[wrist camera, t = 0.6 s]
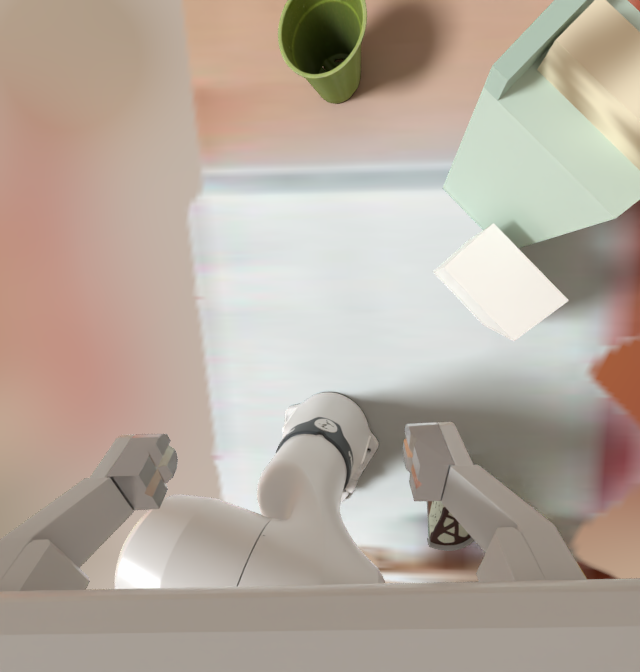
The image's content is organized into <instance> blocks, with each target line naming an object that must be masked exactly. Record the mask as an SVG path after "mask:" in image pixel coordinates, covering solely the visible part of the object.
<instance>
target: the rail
mask: <svg viewBox="0 0 640 672" xmlns="http://www.w3.org/2000/svg"><path fill="white" fill-rule="evenodd" d="M537 70H538V71H539V72H540V73H541V74H542V75H543V76H544V77H545V78H546V79H547V80H548V81H549V82H550V83H551V84H552V85H553V86H554V87H555V88H556V89H557V90H558V91H559V92H560V93H561V94H562V95H563V96H564V97H565V98H566V99H567V100H568V101H569V102H570V103H571V104H572V105H573V106H574V107H575V108H576V109H577V110H578V111H580V112H581V113H582V114H583V115H584V116H585V117H586V118H587V119H588V120H589V121H590V122H591V123H592V124H593V125H594V126H595V127H596V128H597V129H598V130H599V131H600V132H601V133H602V134H603V135H604V136H605V137H606V138H607V139H608V140H609V141H610V142H611V143H612V144H613V145H614V146H615V147H616V148H617V149H618V150H619V151H620V152H621V153H622V154H623V155H624V156H625V157H627V158H628V159H629V160H630V161H631V162H632V163H633V164H634V165H635V166H636V167H637V168H638V169H639V170H640V32H639V31H638V30H637V29H636V28H635V27H634V26H633V25H632V24H631V23H630V22H629V21H627V20H626V19H625V18H624V17H623V16H622V15H621V14H620V13H619V12H618V11H617V10H616V9H615V8H614V7H613V6H612V5H611V4H610V3H608V2H607V1H606V0H594V1H593V2H592V4H591V5H590V6H589V7H588V8H587V9H586V10H585V11H584V12H583V13H582V14H581V15H580V16H579V17H578V18H577V19H576V20H575V21H574V22H573V23H572V24H571V25H570V26H569V27H568V28H567V29H566V30H565V31H564V32H563V33H562V34H561V35H560V36H559V37H558V38H557V39H556V40H555V42H554V43H553V45H552V47H551V48H550V50H549V51H548V53H547V55H546V56H545V58H544V59H543V61H542V63H541V64H540V66H539V67H538V69H537Z"/></svg>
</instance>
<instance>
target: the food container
mask: <svg viewBox="0 0 640 672" xmlns="http://www.w3.org/2000/svg"><path fill="white" fill-rule="evenodd" d="M427 514H428V536H429V539H428V538H427V541H428V545H429V547H432V548H434V549H438V550H445V551H452V550H458V549H462V548H464V547H466V546H468V545H470V544H471V543H472V542H474V539H473V538H472V537H471V536H470V535H469V534H468V532H467V531H466V530H465V529H464V528H463V527H462V526H461V524H460V523H459V522H458V521H457V520H456V519H455V518H454V516H453V515H452V514H451V513H450V512H449V511H448V510H447V509H446V507H445V506H444V505H443V504H442V503H441V501H427Z"/></svg>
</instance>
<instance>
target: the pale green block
mask: <svg viewBox="0 0 640 672" xmlns="http://www.w3.org/2000/svg"><path fill="white" fill-rule="evenodd" d="M593 1H594V0H554V1H553V2H552V3H551V4H550V5H549V6H548V8H547V9H546V10H545V11H544V12H543V13H542V14H541V15H540V16H539V17H538V18H537V19H536V20H535V21H534V22H533V23H532V24H531V25H530V27H529V28H528V29H527V30H526V31H525V32H524V33H523V34H522V35H521V36H520V37H519V38H518V39H517V40H516V41H515V42H514V43H513V44H512V46H511V47H510V48H509V49H508V50H507V51H506V52H505V53H504V54H503V55H502V56H501V57H500V58H499V59H498V60H497V61H496V62H495V63H494V65H493V66H492V68H491V70H490V73H489V75H488V78H487V80H486V83H485V85H484V88H483V90H482V92H481V95H480V97H479V100H478V102H477V105H476V107H475V110H474V112H473V115H472V117H471V119H470V122H469V124H468V127H467V129H466V132H465V134H464V137H463V139H462V142H461V144H460V146H459V149H458V151H457V154H456V156H455V159H454V161H453V164H452V166H451V169H450V171H449V173H448V176H447V178H446V181H445V183H444V186H443V189H444V190H445V191H446V193H447V194H448V195H449V196H450V197H451V198H452V199H453V200H454V201H455V202H456V203H457V204H458V205H459V206H460V207H461V208H462V209H463V210H464V211H465V212H466V213H467V214H468V215H469V216H470V217H471V218H472V219H473V220H474V221H475V222H476V223H477V224H478V226H479V227H480V228H481V229H482V230H484V229H486V228H487V227H489V226H490V225H492V224H493V223H494V224H495V225H496V226H497V227H498V228H499V229H500V230H501V231H502V232H503V233H504V234H505V235H506V236H507V237H508V238H509V239H510V240H511V242H512V243H513V244H514V245H515V246H516V247H517V248H521V247H524V246H528V245H531V244H534V243H537V242H541V241H544V240H547V239H550V238H554V237H557V236H560V235H563V234H567V233H570V232H573V231H576V230H580V229H583V228H586V227H590V226H593V225H596V224H599V223H603V222H606V221H609V220H612V219H616V218H617V217H618V216H619V215H621V214H622V213H623V212H625V211H626V210H627V209H628V208H630V207H631V206H632V205H633V204H635V203H636V202H637V201H639V200H640V170H639V169H638V168H637V167H636V166H635V165H634V164H633V163H632V162H631V161H630V160H629V159H628V158H627V157H625V156H624V155H623V154H622V153H621V152H620V151H619V150H618V149H617V148H616V147H615V146H614V145H613V144H612V143H611V142H610V141H609V140H608V139H607V138H606V137H605V136H604V135H603V134H602V133H601V132H600V131H599V130H598V129H597V128H596V127H595V126H594V125H593V124H592V123H591V122H590V121H589V120H588V119H587V118H586V117H585V116H584V115H583V114H582V113H581V112H580V111H578V110H577V109H576V108H575V107H574V106H573V105H572V104H571V103H570V102H569V101H568V100H567V99H566V98H565V97H564V96H563V95H562V94H561V93H560V92H559V91H558V90H557V89H556V88H555V87H554V86H553V85H552V84H551V83H550V82H549V81H548V80H547V79H546V78H545V77H544V76H543V75H542V74H541V73H540V72H539V71H538V70H537V69H538V67H539V66H540V64H541V63H542V61H543V59H544V58H545V56H546V55H547V53H548V51H549V50H550V48H551V47H552V45H553V43H554V42H555V40H556V39H557V38H558V37H559V36H560V35H561V34H562V33H563V32H564V31H565V30H566V29H567V28H568V27H569V26H570V25H571V24H572V23H573V22H574V21H575V20H576V19H577V18H578V17H579V16H580V15H581V14H582V13H583V12H584V11H585V10H586V9H587V8H588V7H589V6H590V5H591V4H592V2H593ZM606 1H607V2H608V3H610V4H611V5H612V6H613V7H614V8H615V9H616V10H617V11H618V12H619V13H620V14H621V15H622V16H623V17H624V18H625V19H626V20H627V21H629V22H630V23H631V24H632V25H633V26H634V27H635V28H636V29H637V30H638V31H639V32H640V12H639V11H638V10H637V9H636V8H635V7H634V6H633V5H632V4H631V3H630V2H629V1H627V0H606Z"/></svg>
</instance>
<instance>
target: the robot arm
mask: <svg viewBox="0 0 640 672" xmlns="http://www.w3.org/2000/svg"><path fill="white" fill-rule="evenodd" d="M282 431H283V439H282V440H281V442H280V444H279V446H278V449H277V451H276V454H275V455H274V457H273V458H272V460H271V461H270V462H269V464H268V465H267V466H266V467H265V469H264V470H263V472H262V474H261V476H260V478H259V482H258V486H257V500H258V504H259V508H260V511H261V514H262V515H260V514H258V513H255V512H252V511H249V510H247V509H244V508H241V507H239V506H236V505H233V504H230V503H228V502H225V501H222V500H219V499H215V498H207V497H200V496H190V495H179V494H177V495H172V496H169V497H167V498H166V499H164V497H165V494H166V492H167V490H168V489H167V486H166V483H167V482H168V481H169V480H170V479H171V478H173V476H174V473H175V471H176V468H177V462H178V459H177V453H176V451H175V449H174V448H172V447H170V446H169V443H170V439H169V437H168V435H167V434H135V435H121V436H119V437H118V438H117V439H116V440H115V441H114V443H113V444H112V446H111V447H110V449H109V450H108V452H107V453H106V455H105V456H104V458H103V459H102V460H101V462H100V463H99V465H98V466H97V468H96V469H95V471H94V472H93V473H92V475H91V476H90V478H85V479H83V480H82V481H80V482H79V483H78V484H77V485H75V486H74V487H72V488H71V489H69V490H68V491H66V492H65V493H64V494H62V495H61V496H60V497H58V498H57V499H55V500H54V501H53V502H51V503H50V504H48V505H47V506H46V507H44V508H43V509H41V510H40V511H38V512H37V513H36V514H35V515H33V516H31V517H30V518H29V519H27V520H26V521H24V523H22V524H20V525H19V526H18V527H16V528H15V529H14V530H12V531H11V532H9V533H8V534H6V535H5V536H4V537H2V538H1V539H0V672H640V578H636V579H586V577H585V576H584V574H583V572H582V571H581V569H580V567H579V566H578V564H577V562H576V561H575V559H574V557H573V555H572V554H571V552H570V550H569V549H568V547H567V545H566V544H565V542H564V540H563V539H562V537H561V535H560V534H559V532H558V530H557V528H556V527H555V525H554V524H553V523H551V522H550V521H549V520H548V519H546V518H545V517H544V516H543V515H541V514H540V513H539V512H537V511H536V510H535V509H534V508H532V507H531V506H530V505H529V504H527V503H526V502H525V501H524V500H522V499H521V498H520V497H519V496H517V495H516V494H515V493H513V492H512V491H511V490H510V489H508V488H507V487H506V486H505V485H503V484H502V483H501V482H500V481H498V480H497V479H496V478H495V477H493V476H492V475H491V474H489V473H488V472H487V471H486V470H484V469H483V468H482V467H481V466H479V465H473V462H472V460H471V458H470V456H469V454H468V452H467V450H466V447H465V445H464V443H463V441H462V439H461V437H460V434H459V432H458V430H457V428H456V426H455V424H454V423H453V422H437V423H436V422H432V423H413V424H406V426H405V431H404V432H405V436H406V439H405V440H403V457H404V462H405V467H406V469H407V470H408V471H409V472H410V480H409V483H410V486H411V490H412V494H413V498H414V501H441V503H442V504H443V505H444V506H445V507H446V509H447V510H448V511H449V512H450V513H451V514H452V515H453V516H454V518H455V519H456V520H457V521H458V522H459V523H460V524H461V526H462V527H463V528H464V529H465V530H466V531H467V532H468V534H469V535H470V536H471V537H472V538H473V539H474V540H475V542H476V543H477V544H478V545H479V546H480V547H481V548H482V550H483V551H484V552H485V556H484V558H483V560H482V562H481V564H480V566H479V569H478V571H477V573H476V574H477V577H478V580H479V582H433V583H385V581H384V579H383V576H382V574H381V573H380V571H379V569H378V568H377V566H375V565H374V564H373V563H372V562H371V561H370V560H369V559H368V558H367V557H366V556H365V555H364V553H363V552H362V551H361V550H360V549H359V548H358V546H357V545H356V544H355V542H354V541H353V539H352V538H351V536H350V535H349V533H348V531H347V529H346V527H345V525H344V523H343V521H342V518H341V514H340V504H341V502H343V501H344V500H345V499H346V497H347V496H348V494H349V493H353V491H354V489H355V487H356V485H357V480H358V478H359V477H360V475H361V474H362V472H363V471H364V469H365V468H366V466H367V464H368V463H369V461H370V460H371V458H372V457H373V455H374V453H375V452H376V450H377V448H378V446H379V443H378V440H377V439H376V437H375V436H374V435H373V434H372V432H371V431H370V429H369V426H368V423H367V420H366V417H365V415H364V413H363V412H362V410H361V409H360V408H359V406H358V405H357V404H356V403H354V402H353V401H352V400H351V399H349V398H347V397H345V396H343V395H341V394H337V393H331V392H324V393H319V394H316V395H313V396H311V397H309V398H308V399H307V400H305V401H304V402H303V403H301V404H297V405H293V406H290V407H288V408H287V410H286V412H285V425H284V426H283V428H282ZM368 448H370V449H371V450H370V451H369V450H367V449H368ZM163 499H164V500H163ZM147 509H150V510H148V512H146V513H145V515H143V516H142V517H141V519H140V520H139V521H138V522H137V523H136V525H135V526H134V528H133V529H132V530H131V532H130V533H129V535H128V537H127V539H126V541H125V543H124V545H123V547H122V550H121V552H120V555H119V559H118V562H117V566H116V574H115V589H86V588H87V586H88V584H89V582H90V581H89V577H88V576H87V575H86V574H85V573H84V572H83V571H82V570H81V569H80V567H81V566H82V564H84V563H85V562H86V561H87V560H88V559H89V558H90V557H91V555H93V554H94V552H95V551H96V550H97V549H98V548H99V547H100V546H101V545H102V544H103V543H104V542H105V541H106V540H107V539H108V538H109V537H110V536H111V535H112V534H113V533H114V532H115V531H116V530H117V529H118V528H119V527H120V526H121V525H122V524H123V523H124V522H125V521H126V519H127V518H128V517H129V516H130V515H131V514H132V513H133V512H134V511H133V510H147Z"/></svg>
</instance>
